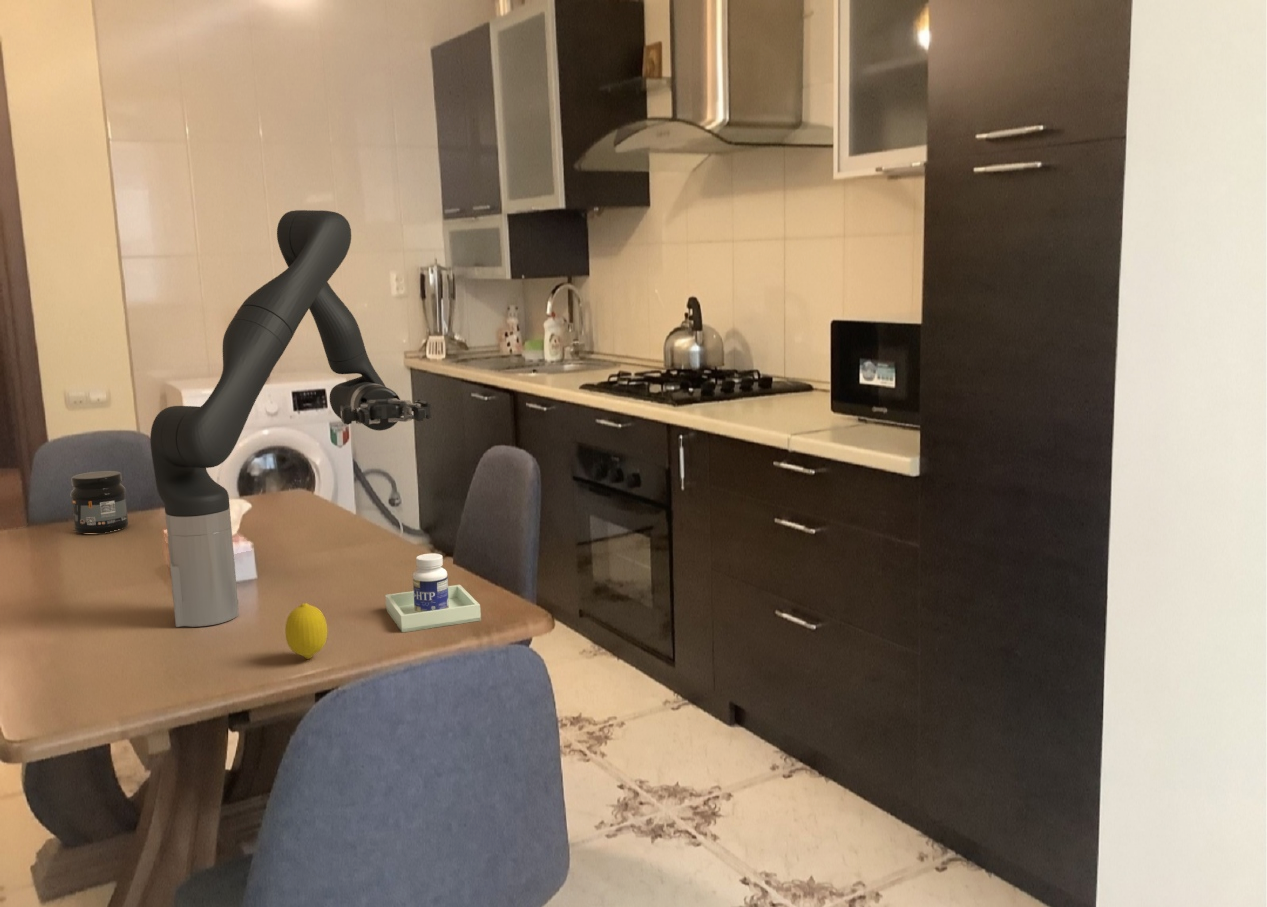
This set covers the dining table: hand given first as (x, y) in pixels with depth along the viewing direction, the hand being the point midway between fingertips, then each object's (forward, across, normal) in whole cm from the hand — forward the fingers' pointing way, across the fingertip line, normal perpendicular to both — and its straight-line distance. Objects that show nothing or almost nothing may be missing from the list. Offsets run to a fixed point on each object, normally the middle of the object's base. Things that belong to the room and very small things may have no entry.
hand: (394, 416), depth 169 cm
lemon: (+22, -18, +30) cm, 42 cm away
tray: (+11, +2, +30) cm, 32 cm away
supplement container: (-80, -48, +30) cm, 98 cm away
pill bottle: (+11, +2, +30) cm, 32 cm away
